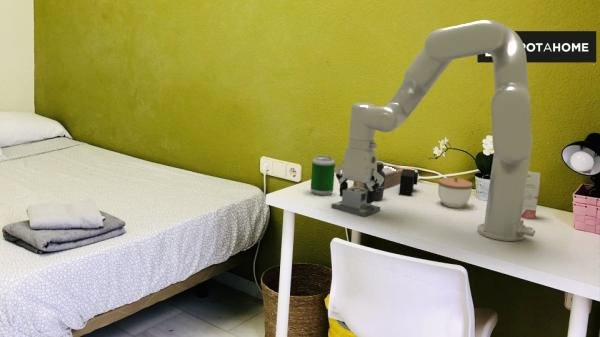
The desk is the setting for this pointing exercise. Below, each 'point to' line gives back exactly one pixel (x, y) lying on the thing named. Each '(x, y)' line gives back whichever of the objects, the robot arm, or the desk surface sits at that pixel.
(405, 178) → the digital camera
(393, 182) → the organizer frame
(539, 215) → the desk surface
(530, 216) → the ink cartridge box
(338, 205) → the stand
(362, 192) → the block
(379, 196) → the supplement bottle
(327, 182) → the soda can
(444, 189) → the lidded jar
